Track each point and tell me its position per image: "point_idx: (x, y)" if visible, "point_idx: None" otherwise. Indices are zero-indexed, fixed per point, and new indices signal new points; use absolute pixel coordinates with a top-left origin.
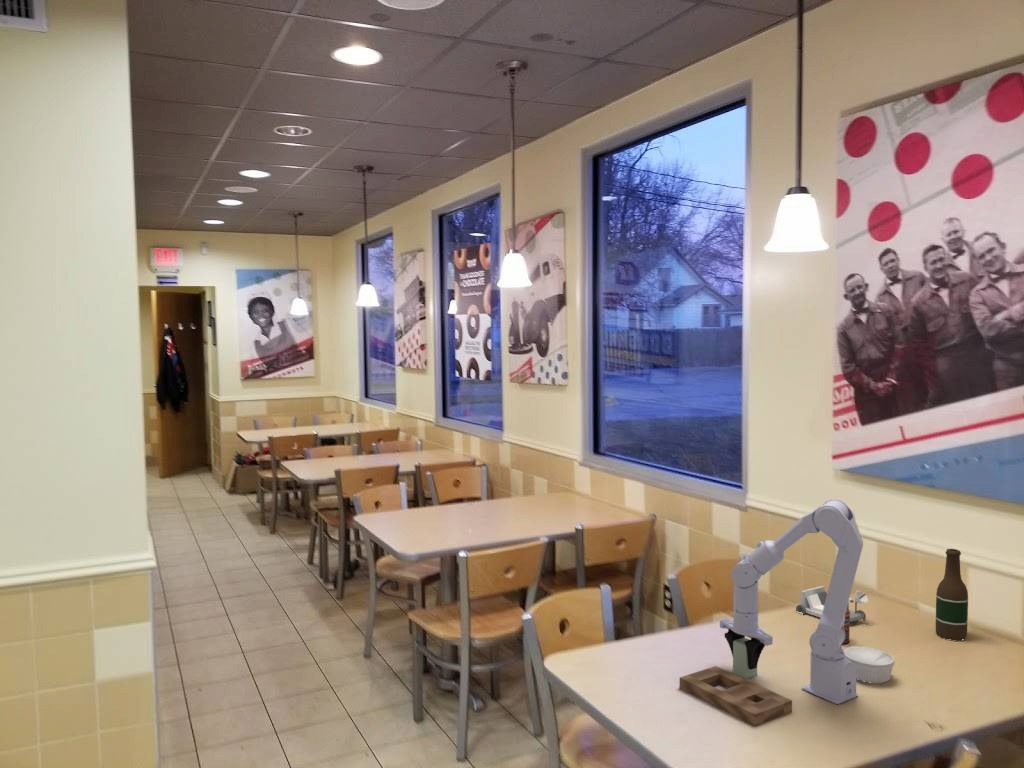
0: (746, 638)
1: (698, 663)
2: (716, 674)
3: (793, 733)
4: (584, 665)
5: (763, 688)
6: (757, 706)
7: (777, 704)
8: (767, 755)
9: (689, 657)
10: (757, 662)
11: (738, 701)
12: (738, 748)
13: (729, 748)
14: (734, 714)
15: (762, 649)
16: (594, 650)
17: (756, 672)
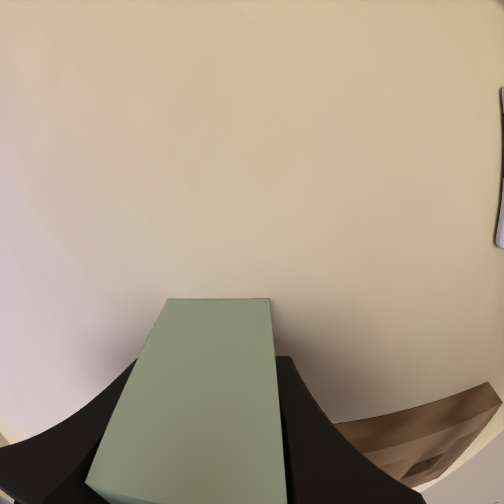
0: (118, 495)
1: (63, 384)
2: None
3: (491, 418)
4: None
5: (425, 438)
6: (435, 470)
7: (473, 437)
8: (461, 462)
9: (20, 363)
10: (301, 380)
11: None
12: (425, 483)
13: (415, 489)
14: None
15: (365, 461)
16: (7, 436)
17: (269, 311)
